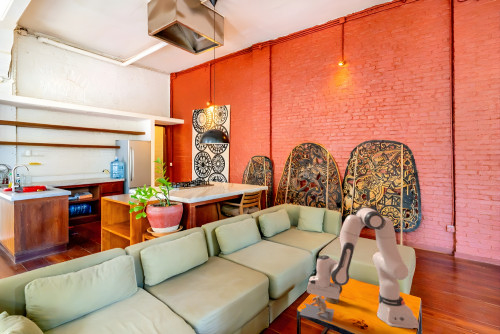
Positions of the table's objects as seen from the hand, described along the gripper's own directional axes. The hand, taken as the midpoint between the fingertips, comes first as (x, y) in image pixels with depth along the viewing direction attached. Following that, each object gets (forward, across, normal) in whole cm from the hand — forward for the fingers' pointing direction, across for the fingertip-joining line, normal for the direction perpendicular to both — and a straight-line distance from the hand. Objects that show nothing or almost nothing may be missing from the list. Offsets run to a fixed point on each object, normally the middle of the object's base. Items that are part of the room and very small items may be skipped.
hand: (322, 302), depth 165 cm
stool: (+6, 0, 0) cm, 6 cm away
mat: (+8, +4, 0) cm, 9 cm away
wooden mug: (+8, -6, -19) cm, 22 cm away
